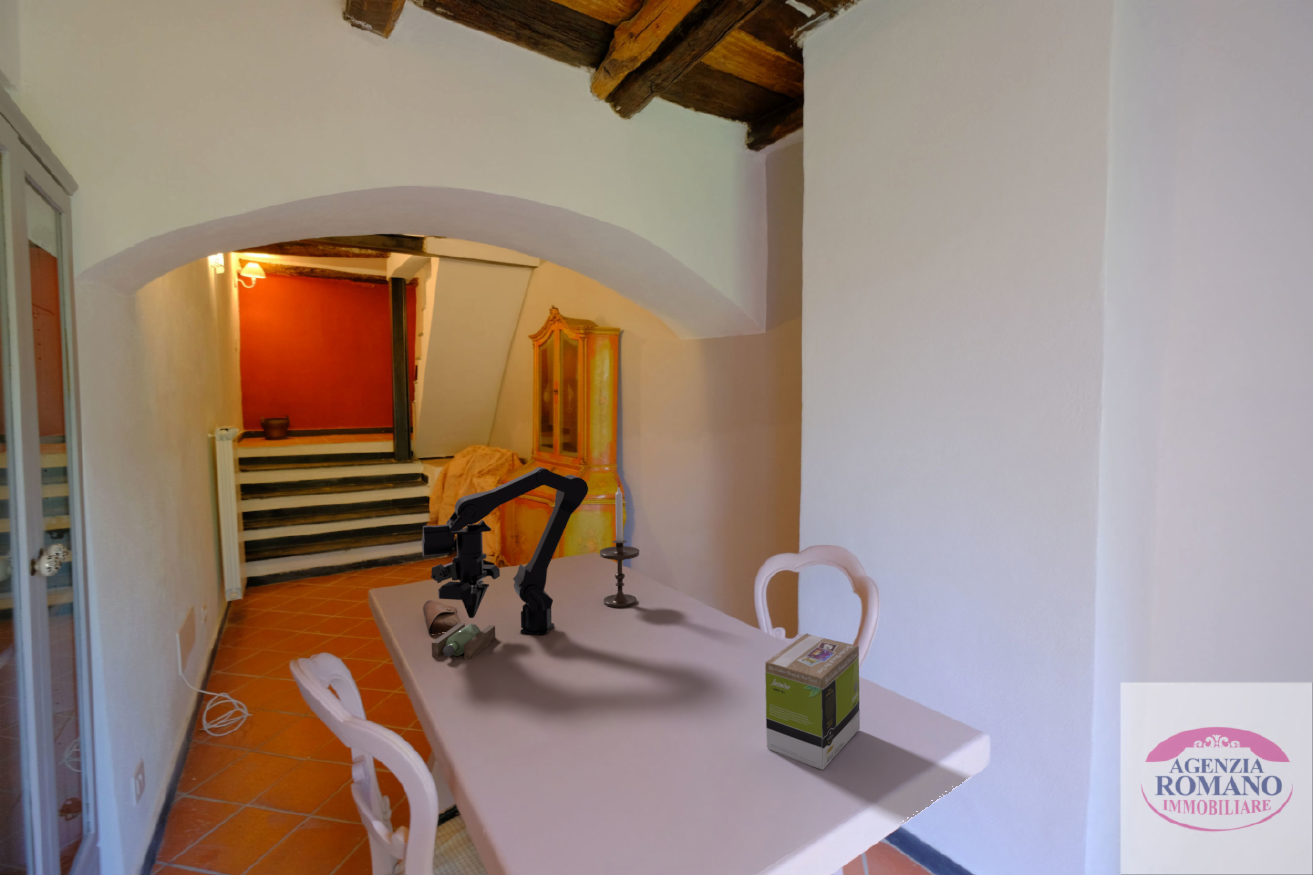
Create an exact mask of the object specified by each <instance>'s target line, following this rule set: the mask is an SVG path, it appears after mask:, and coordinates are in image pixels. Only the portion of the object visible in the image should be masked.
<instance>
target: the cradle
mask: <svg viewBox="0 0 1313 875" xmlns="http://www.w3.org/2000/svg"><path fill="white" fill-rule="evenodd" d="M465 626H466V623H463V622H461V623H458V624H457V625H456V626H454V627H453V628H451V629H450V630H449V631H447V632H446V633H443V634H441V635H440V636H439V637H437V638H436V639H434V640H433V641H432V642H431V656H432V657H440V656H441V655H442V654H444V653H443V649H444V647H445V646H446V643H447V640H448V638H449V637H451V636H452V635H453V634H455V633H456V632H458V631H459V630H461V629H462V628H464V627H465ZM480 631H481V632H480V633H479V634H477V635H476V636H475V637H473V638H472V639H471V640H470V641H468V642H467V643H466V644H465V645H464V653H463V654H464V655H463V656H464V659H466V660H471V659H473V658H474V657H475V656H476V655H478V654H479V653H480V652H481V651H482V650H483V649H485V648H486V645H487V644H488V645H490V643H491V642H492V641H494V640H495V639H496V625H495V624H488V625H487V626H486V627H485V628H483V629H482V630H480ZM488 645H487V646H488Z"/></svg>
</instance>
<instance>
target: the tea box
mask: <svg viewBox="0 0 1313 875" xmlns="http://www.w3.org/2000/svg"><path fill="white" fill-rule="evenodd" d="M859 647H860V646H859V645H856V644H851V643H847V642H842V641H838V640H834V639H831V638H830V639H829V638H826V637H823V636H822V637H821V636H817V635H812V634H808V633H805V634H803V635H802V636H801V637H799V638H798V639H796V640H795V641H793V642H792V643H791V644H789V645H788V646H786V647H785V648H783V649H782V650H780V651H779V652H778V653H776V654H775V655H773V656H772V657H771V658H770V659H768V660H766V661H765V667H764V668H765V670H764V671H765V672H764V675H765V676H764V678H765V719H766V721H765V722H766V724H765V735H766V736H765V738H766V748H767V749H768V750H770V751H771V752H772V751H773V752H775V753H777V754H779V755H782V756H785V757H787V758H789V759H792V760H794V761H796V762H799V763H802V764H805V765H807V766H810V767H813V768H816V769H818V770H821V771H823V770H824V769H826V767H827V766H828V765H829V764H830V762H831V761H832V760H833V759H834V758H835V757H836V756H837V755H838V754H839V752H840V751H841V750H842V749H843V748H844V747H845V746H846V745H847V743H849V741H850V740H851V739H852V738H853V737H854V736H855V735H856V733H857V732H858V731H859V730H860V729H861V726H860V725H861V722H860V719H861V717H860V714H861V713H860V655H859V654H860V652H859V651H860V650H859V649H860V648H859Z"/></svg>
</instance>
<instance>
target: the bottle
mask: <svg viewBox="0 0 1313 875" xmlns="http://www.w3.org/2000/svg"><path fill="white" fill-rule="evenodd" d="M481 631H482V630H481V629H480V627H479V626H478V625H476V624H475V623H469V624H467V625H465V627H464V628H462V629H461V630H459V631H458V632H456V633H455V634H453V635H452V636H451V637H449V638H448V640H447V643H446V646H445V647H444V649H443V653H442V654H444V656H446V657H452V656H455V655H457V656H456V657H458V656H462V655H463V654H464V645H465V644H466V643H467V642H468V641H470V640H471V639H472V638H473V637H475V636H476V635H477V634H479V633H480V632H481Z"/></svg>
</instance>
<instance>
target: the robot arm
mask: <svg viewBox="0 0 1313 875" xmlns="http://www.w3.org/2000/svg"><path fill="white" fill-rule="evenodd" d="M541 486H546V487H548V488H551V489H554V490H556V493H555V499H554V507H553V510H552V511H551V514H550V517H549V518H548V521H547V523H546V526H545V528H544V530H543V532H542V535H541V537H540V539H539V541H538V544H537V545H536V548H535V550H534V553H533V554H532V557H531V560H529V562H528V563H527V564H526V565H523V564H519V566H518V570H517V572H516V575H515V576H514V577H513V578H512V580H513V582H514V583H513V589H514V592H515V593H516V595H517V596H518V597H519V599H520V600H521V601H522V602H524V604H523V605H522V610H521V611H520V628H521V629H520V631H519V632H520V634H528V635H529V634H531V635H542V636H543V635H544V636H545V635H547V634H548V633H549V632H550V631H551V629H552V628H554V627H555V623H553V622H552V618H553V617H552V605H553V603H554V599H553V598H552V597H551V596H550V595H549V594H548V593H547V592H546V591H545V588H546V584H547V577H548V575H547V574H548V569H549V565H550V563H551V561H552V559H553V557H554V554H555V552H556V550H557V547H558V545H559V543H560V541H561V538H562V536H563V534H564V531H565V529H566V527H567V524H568V523H569V520H570V518H571V516H572V514H573V513H574V512H575V511H576V510H577V509H578V508H579V507H580V506H581V504H582V503H583V501H584V499H585V498H586V497H587V495H588V492H589V486H588V484H587V482H586V480H585V479H583V478H581V477H579V476H576V475H572V474H567V475H564V476H563V475H561V474H559V473H556V472H553V471H551V470H549V469H547V468H545V467H542V466H538V467H536V468H534V469H533V470H532V471H530V472H527V473H525V474H523V475H520V476H519V477H516V478H514V479H512V480H510V481H508V482H506V483H502V484H501V485H499V486H496V487H494V488H492V489H490V490H486V491H481V492H476V493H472V494H467V495H464V496H462V497H461V498H458V500H457V501H456V503H455V505H454V512H453V513H452V514H451V516H450V517H449V518H448V520H447V521H446V523H445V524H440V525H438V524H436V525H429V524H428V525H423V526H422V538H421V549H422V552H421V553H422V557H430V556H431V557H432V556H440V555H441V556H442V555H449V554H450V552H453V550H454V549H455V543H456V556H455V557H453V558H452V559H451V562H450V563H449V562H448V563H446V564H444V565H443V564H442V563H440V564H438V565H435V566H433V567H431V571H430V572H431V574H430V578H431V579H432V580H434V581H435V582H436V583H437V584H441V583H442V582H443V581H445V580H446V581H447V580H449V579H451V581H448V582H446V583H445V584H443V585H441V586H440V587H439V588H438V591H437V593H438V599H439V600H453V601H454V600H455V601H462V603H463V606H464V609H465V611H466V614H467V616H468V618H469V619H473V618H475V617H476V614H477V612H478V610H479V608H480V605H481V603H482V601H483V599H484V596H485V594H486V592H487V590H488V588H489V587H490V584H489V583H484V582H485V581H484V580H483V579H485V578H486V577H491V579H492V580H497V579H498V578H499V577H500V576H501V571H500V567H499V566H498V565H495V564H484V560H486V559H487V553H484V552H483V551H484V548H483V547H484V546H483V544H484V543H483V533H486V532H491V531H492V528H491V527H490V526H489V525H488V524H486V522H485V521H484V520H483V519H484V518H486V517H487V516H489V515H490V514H491V513H492V512H493V511H494V510H495V509H497V508H498V507H500V506H501V505H504V504H506V503H508V502H510V501H512V500H514V499H517V498H519V497H520V496H523V495H525V494H528V493H529V492H531V491H534V490H536V489H538V488H540V487H541ZM455 535H456V540H455ZM455 541H456V542H455Z"/></svg>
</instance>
